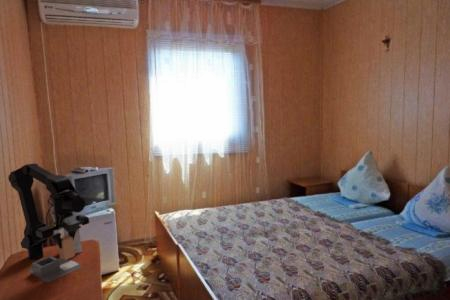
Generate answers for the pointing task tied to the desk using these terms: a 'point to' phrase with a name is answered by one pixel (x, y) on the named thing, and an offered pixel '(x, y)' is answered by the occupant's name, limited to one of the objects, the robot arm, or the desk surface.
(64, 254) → the plug
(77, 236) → the skincare box
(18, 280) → the desk surface
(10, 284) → the desk surface
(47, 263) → the socket block
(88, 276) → the desk surface
